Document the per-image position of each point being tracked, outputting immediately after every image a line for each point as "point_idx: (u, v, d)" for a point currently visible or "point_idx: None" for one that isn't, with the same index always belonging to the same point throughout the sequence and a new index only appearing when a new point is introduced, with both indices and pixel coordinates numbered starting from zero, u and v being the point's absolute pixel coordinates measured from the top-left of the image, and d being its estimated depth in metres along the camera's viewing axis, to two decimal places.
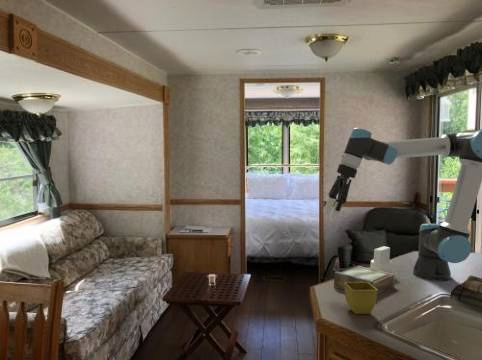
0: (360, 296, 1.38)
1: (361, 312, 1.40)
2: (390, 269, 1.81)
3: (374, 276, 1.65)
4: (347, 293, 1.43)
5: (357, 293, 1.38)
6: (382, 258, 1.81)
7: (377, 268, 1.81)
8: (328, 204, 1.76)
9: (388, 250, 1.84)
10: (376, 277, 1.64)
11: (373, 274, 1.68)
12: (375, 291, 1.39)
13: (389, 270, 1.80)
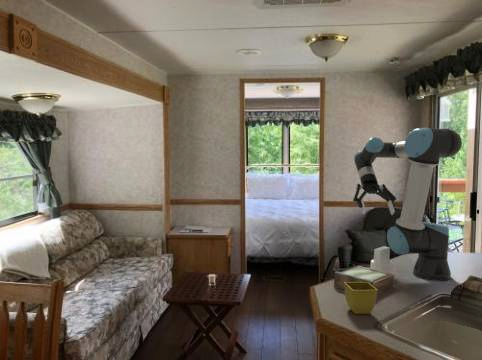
0: (360, 296, 1.38)
1: (361, 312, 1.40)
2: (390, 269, 1.81)
3: (374, 276, 1.65)
4: (347, 293, 1.43)
5: (357, 293, 1.38)
6: (382, 258, 1.81)
7: (377, 268, 1.81)
8: (389, 207, 1.98)
9: (388, 250, 1.84)
10: (376, 277, 1.64)
11: (373, 274, 1.68)
12: (375, 291, 1.39)
13: (389, 270, 1.80)
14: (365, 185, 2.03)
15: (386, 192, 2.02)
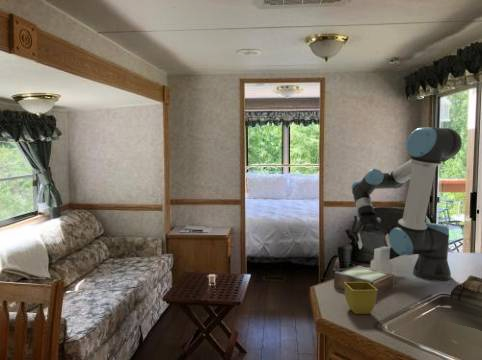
0: (360, 296, 1.38)
1: (361, 312, 1.40)
2: (390, 269, 1.81)
3: (374, 276, 1.65)
4: (347, 293, 1.43)
5: (357, 293, 1.38)
6: (382, 258, 1.81)
7: (377, 268, 1.81)
8: (387, 241, 1.93)
9: (388, 250, 1.84)
10: (376, 277, 1.64)
11: (373, 274, 1.68)
12: (375, 291, 1.39)
13: (389, 270, 1.80)
14: (362, 217, 1.99)
15: (384, 225, 1.98)
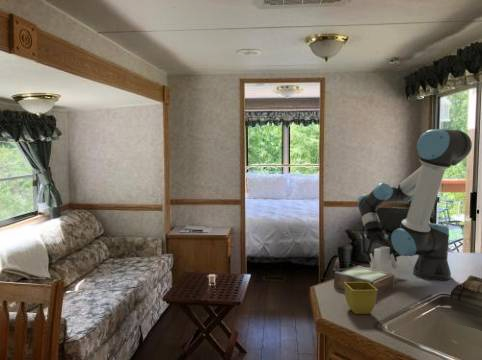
0: (360, 296, 1.38)
1: (361, 312, 1.40)
2: (390, 269, 1.81)
3: (374, 276, 1.65)
4: (347, 293, 1.43)
5: (357, 293, 1.38)
6: (382, 258, 1.81)
7: (377, 268, 1.81)
8: (391, 261, 1.84)
9: (388, 249, 1.84)
10: (376, 277, 1.64)
11: (373, 274, 1.68)
12: (375, 291, 1.39)
13: (389, 270, 1.80)
14: (369, 233, 1.91)
15: (390, 243, 1.89)
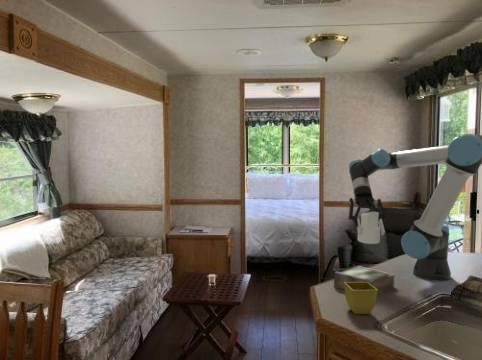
0: (360, 296, 1.38)
1: (361, 312, 1.40)
2: (377, 234, 1.75)
3: (374, 276, 1.65)
4: (347, 293, 1.43)
5: (357, 293, 1.38)
6: (369, 223, 1.75)
7: (364, 233, 1.75)
8: (379, 226, 1.78)
9: (376, 214, 1.78)
10: (376, 277, 1.64)
11: (373, 274, 1.68)
12: (375, 291, 1.39)
13: (376, 235, 1.75)
14: (358, 198, 1.84)
15: (379, 208, 1.83)
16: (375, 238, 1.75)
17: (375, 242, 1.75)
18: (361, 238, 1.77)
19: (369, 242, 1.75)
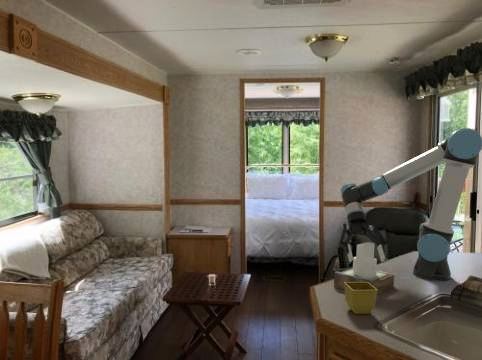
0: (360, 296, 1.38)
1: (361, 312, 1.40)
2: (374, 267, 1.64)
3: None
4: (347, 293, 1.43)
5: (357, 293, 1.38)
6: (365, 255, 1.65)
7: (360, 266, 1.64)
8: (379, 252, 1.68)
9: (372, 245, 1.68)
10: (376, 277, 1.64)
11: None
12: (375, 291, 1.39)
13: (373, 268, 1.64)
14: (352, 225, 1.74)
15: (376, 234, 1.73)
16: (372, 271, 1.64)
17: (372, 275, 1.64)
18: (356, 271, 1.66)
19: (365, 275, 1.64)
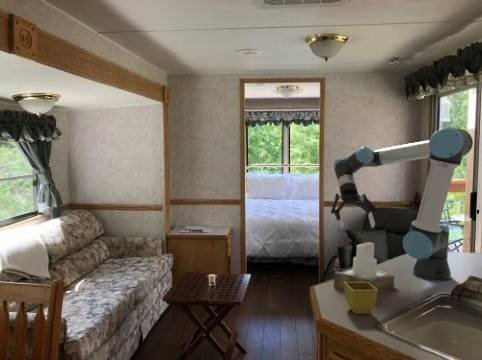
0: (360, 296, 1.38)
1: (361, 312, 1.40)
2: (374, 267, 1.64)
3: None
4: (347, 293, 1.43)
5: (357, 293, 1.38)
6: (365, 255, 1.65)
7: (360, 266, 1.64)
8: (370, 219, 1.82)
9: (372, 246, 1.68)
10: (376, 277, 1.64)
11: None
12: (375, 291, 1.39)
13: (373, 268, 1.64)
14: (344, 195, 1.88)
15: (367, 203, 1.87)
16: (372, 271, 1.64)
17: (372, 275, 1.64)
18: (356, 272, 1.66)
19: (365, 275, 1.64)
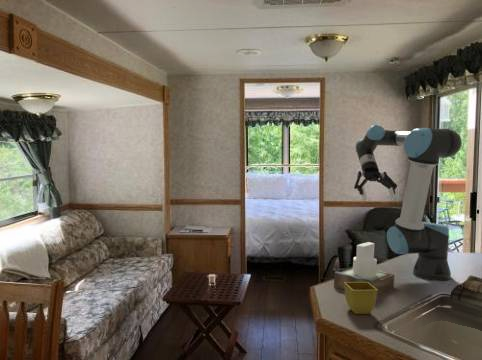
0: (360, 296, 1.38)
1: (361, 312, 1.40)
2: (374, 267, 1.64)
3: None
4: (347, 293, 1.43)
5: (357, 293, 1.38)
6: (365, 255, 1.65)
7: (360, 266, 1.64)
8: (390, 194, 1.97)
9: (372, 246, 1.68)
10: (376, 277, 1.64)
11: None
12: (375, 291, 1.39)
13: (373, 268, 1.64)
14: (366, 172, 2.03)
15: (387, 180, 2.02)
16: (372, 271, 1.64)
17: (372, 275, 1.64)
18: (356, 272, 1.66)
19: (365, 275, 1.64)
